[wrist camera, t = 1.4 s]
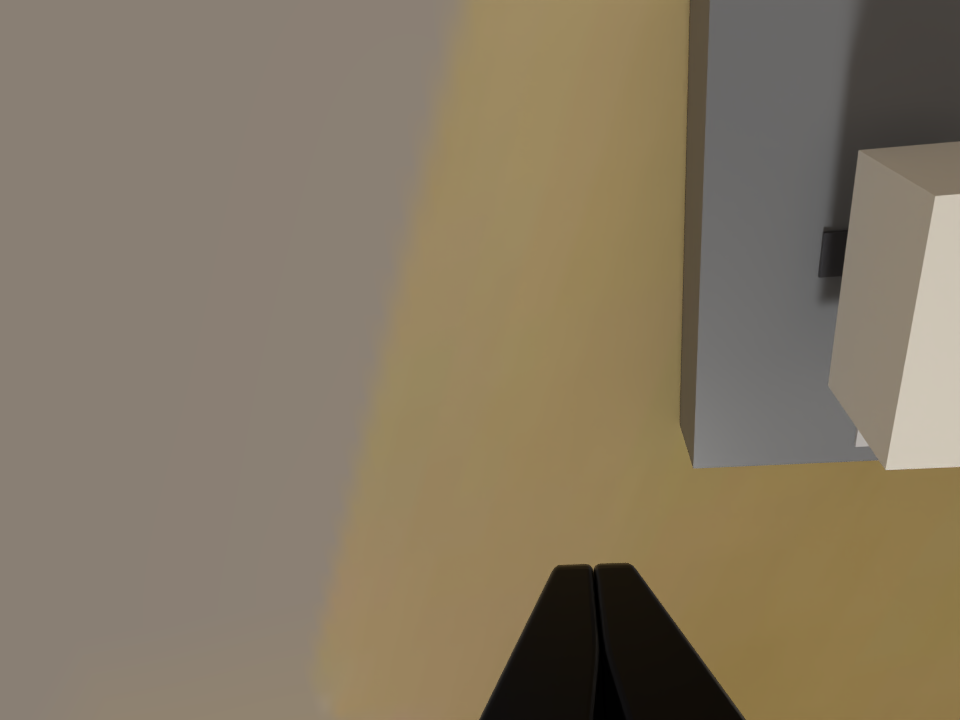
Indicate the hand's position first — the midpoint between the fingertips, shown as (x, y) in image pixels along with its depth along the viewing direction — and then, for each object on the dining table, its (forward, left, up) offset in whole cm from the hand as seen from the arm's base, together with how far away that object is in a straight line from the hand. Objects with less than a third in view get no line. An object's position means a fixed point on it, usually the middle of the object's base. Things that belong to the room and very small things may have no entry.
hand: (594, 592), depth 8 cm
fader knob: (-7, 0, -9) cm, 12 cm away
